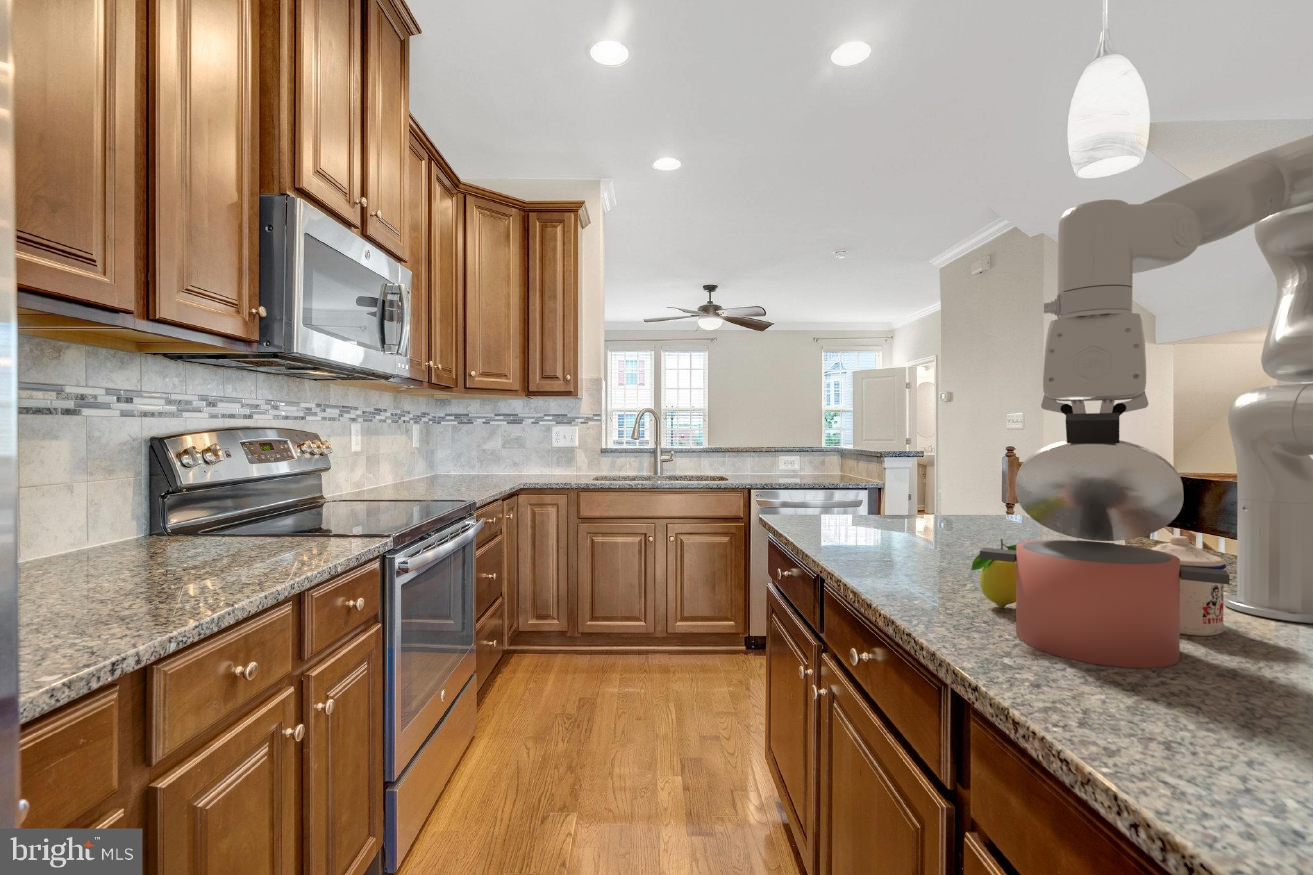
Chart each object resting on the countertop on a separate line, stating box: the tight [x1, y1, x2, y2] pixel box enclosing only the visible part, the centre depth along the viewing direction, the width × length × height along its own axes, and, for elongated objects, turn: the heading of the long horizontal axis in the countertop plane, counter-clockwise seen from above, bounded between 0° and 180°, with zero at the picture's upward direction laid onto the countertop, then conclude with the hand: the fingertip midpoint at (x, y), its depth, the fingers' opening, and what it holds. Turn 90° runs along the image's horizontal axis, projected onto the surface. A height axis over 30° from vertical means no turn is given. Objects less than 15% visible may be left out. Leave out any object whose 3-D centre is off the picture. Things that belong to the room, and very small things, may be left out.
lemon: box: [970, 538, 1017, 609], centre depth 91 cm, size 7×6×10 cm
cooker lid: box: [1014, 412, 1185, 542], centre depth 78 cm, size 21×17×2 cm
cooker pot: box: [979, 539, 1230, 669], centre depth 76 cm, size 17×24×11 cm
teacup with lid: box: [1150, 535, 1227, 637], centre depth 83 cm, size 12×9×12 cm
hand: (1092, 458), depth 77 cm, fingers closed
